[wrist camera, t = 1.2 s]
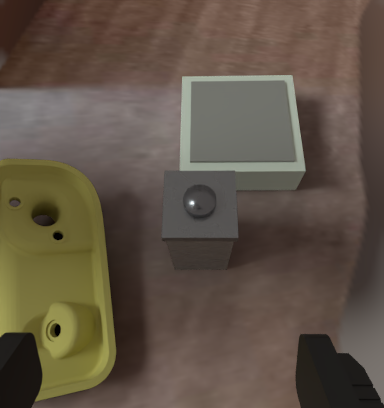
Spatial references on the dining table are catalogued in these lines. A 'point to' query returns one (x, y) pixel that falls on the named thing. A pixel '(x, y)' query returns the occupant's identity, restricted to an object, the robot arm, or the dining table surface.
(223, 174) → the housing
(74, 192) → the plastic component
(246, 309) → the dining table surface
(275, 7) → the dining table surface
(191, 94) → the stand
